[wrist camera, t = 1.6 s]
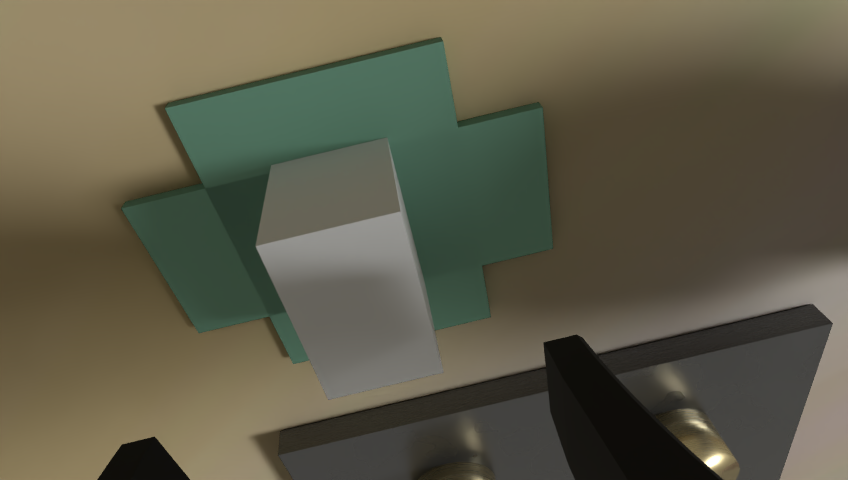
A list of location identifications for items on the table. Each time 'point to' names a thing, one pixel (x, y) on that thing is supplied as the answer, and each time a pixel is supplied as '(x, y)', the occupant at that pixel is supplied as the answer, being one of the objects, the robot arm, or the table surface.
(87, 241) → the table surface
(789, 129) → the table surface
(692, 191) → the table surface
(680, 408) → the chassis
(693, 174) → the table surface
